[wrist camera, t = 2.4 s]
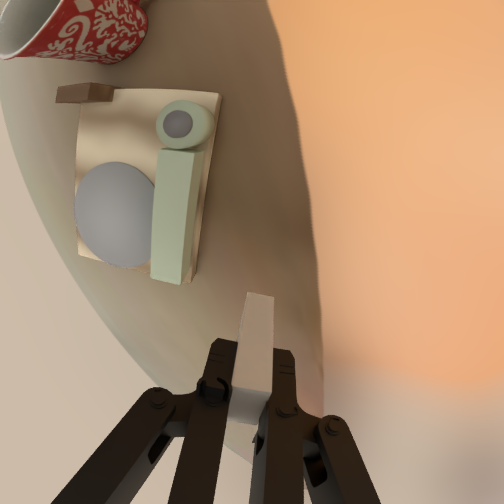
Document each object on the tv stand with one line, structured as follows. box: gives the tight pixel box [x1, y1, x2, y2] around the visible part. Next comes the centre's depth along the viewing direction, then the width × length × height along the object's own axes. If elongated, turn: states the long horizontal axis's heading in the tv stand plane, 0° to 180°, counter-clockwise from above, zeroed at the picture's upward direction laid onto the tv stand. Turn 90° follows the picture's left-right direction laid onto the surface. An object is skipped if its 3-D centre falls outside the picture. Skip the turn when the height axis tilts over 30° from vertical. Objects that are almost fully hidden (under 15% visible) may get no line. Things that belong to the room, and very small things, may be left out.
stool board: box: [56, 83, 222, 283], centre depth 22 cm, size 18×14×6 cm
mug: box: [0, 0, 148, 64], centre depth 11 cm, size 13×9×14 cm
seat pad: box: [74, 162, 155, 268], centre depth 24 cm, size 11×11×1 cm
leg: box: [151, 100, 215, 285], centre depth 21 cm, size 15×4×4 cm, turn 169°
